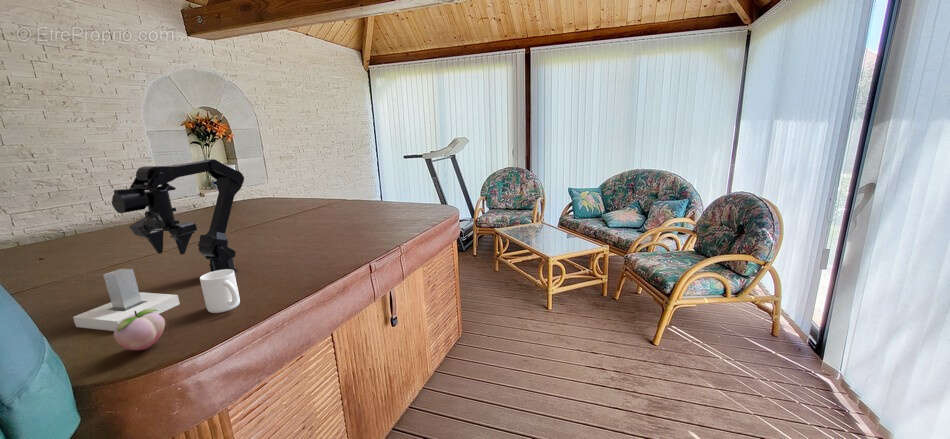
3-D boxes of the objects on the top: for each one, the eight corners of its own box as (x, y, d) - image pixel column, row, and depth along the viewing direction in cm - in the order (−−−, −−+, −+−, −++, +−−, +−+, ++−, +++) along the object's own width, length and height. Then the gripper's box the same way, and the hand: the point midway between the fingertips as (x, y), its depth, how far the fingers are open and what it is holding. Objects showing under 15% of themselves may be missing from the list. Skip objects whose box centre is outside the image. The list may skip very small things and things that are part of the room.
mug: (253, 306, 108) (246, 273, 106) (223, 319, 102) (215, 284, 99) (231, 298, 114) (224, 267, 112) (201, 310, 108) (193, 277, 105)
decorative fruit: (142, 339, 92) (132, 303, 90) (176, 337, 93) (167, 301, 91) (108, 362, 83) (96, 322, 81) (146, 359, 84) (134, 319, 81)
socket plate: (139, 300, 116) (137, 292, 115) (179, 304, 112) (177, 295, 111) (76, 326, 101) (72, 316, 100) (120, 331, 97) (117, 321, 96)
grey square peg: (132, 310, 109) (121, 268, 106) (144, 310, 108) (132, 269, 105) (115, 317, 105) (103, 274, 102) (127, 318, 104) (115, 275, 101)
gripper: (107, 211, 110) (121, 261, 114) (156, 212, 106) (168, 263, 109) (147, 204, 121) (158, 249, 124) (193, 204, 116) (203, 251, 120)
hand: (171, 253), depth 119 cm, fingers open, 9 cm apart
